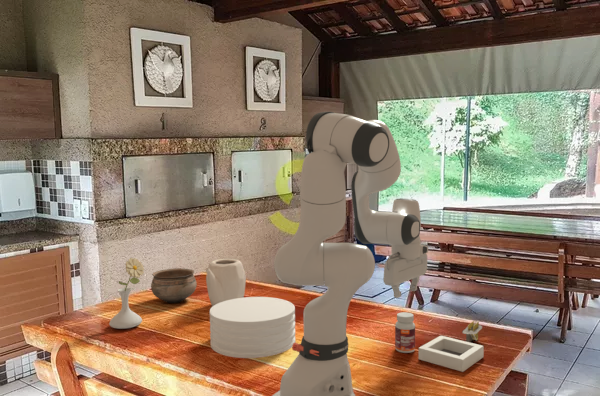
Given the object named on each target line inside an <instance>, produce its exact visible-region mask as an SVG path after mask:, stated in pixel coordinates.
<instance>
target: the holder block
mask: <svg viewBox="0 0 600 396" xmlns="http://www.w3.org/2000/svg"><path fill="white" fill-rule="evenodd" d="M484 348H485V347H484V345H481V344H477V343H473V342H466V340H460V339H457V338H454V337H450V336H449V337H448V336H445V335H439V336H437V337H435V338H434V339H432V340H430V341H429V342H426V343H425V344H422V345H421V346H420V347H418V360H421V361H424V362H428V363H431V364H435V365H438V366H440V367H445V368H448V369H451V370H456V371H458V372H461V373H464V372H465V371H466V370H468V369H469V368H470V367H472V366H473V365H474V364H476V363H477V362H479V361H480V360H481V359H483V358H484V353H485V349H484Z"/></svg>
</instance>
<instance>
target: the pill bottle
mask: <svg viewBox="0 0 600 396" xmlns="http://www.w3.org/2000/svg"><path fill="white" fill-rule="evenodd" d="M414 317H415V316H414V314H413V312H412V313H411V312H406V311H402V312H399V313H398V312H397V314H396V320H397V321H396V322H395V323H394V325H395V326H394V333H395V334H394V335H395V338H394V340H395V341H394V346H395V347H394V348H395V350H396V351H397V352H398V353H402V354H403V353H404V354H408V353H413V352H415V351H416V325H415V324H416V323H414V321H415V320H414Z"/></svg>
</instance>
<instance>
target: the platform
mask: <svg viewBox="0 0 600 396" xmlns="http://www.w3.org/2000/svg"><path fill="white" fill-rule="evenodd" d="M479 322H480V321H477V320H473V321H471V322H470V323H469V324H468V325H467V326H466V328H464V329H463V330H462V334H464V335H466V336H465V337H466V338H465V341H466V342H470V343H472V341H474V340H475V341H479V332H480V331H481V330H482V329H483V326H482V325H481V324H480V323H479Z"/></svg>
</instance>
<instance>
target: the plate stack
mask: <svg viewBox="0 0 600 396" xmlns="http://www.w3.org/2000/svg"><path fill="white" fill-rule="evenodd" d="M209 324H210V325H209V331H210V334H209V336H210V348H211V349H212V350H213V351H214V352H215V353H217V354H220V355H221V356H222V355H223V356H225V357H232V358H239V359H256V358H264V357H271V356H275V355H280V354H282V353H284V352H286V351H288V350H290V349H291V348H292V347H293V346H292V345H293V343H296V306H295V305H294V303H292V302H291V301H290V300H289V301H288V300H286V299H282V298H277V297H270V296H246V297H244V298H236V299H231V300H227V301H223V302H220V303H218V304H216V305H214V306H211V307H210V309H209Z"/></svg>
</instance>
